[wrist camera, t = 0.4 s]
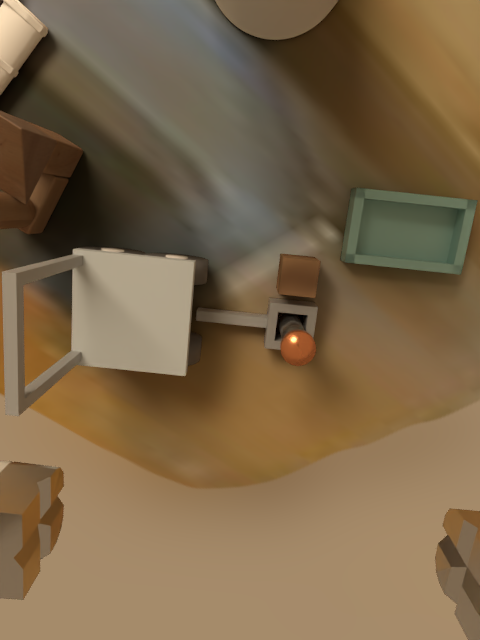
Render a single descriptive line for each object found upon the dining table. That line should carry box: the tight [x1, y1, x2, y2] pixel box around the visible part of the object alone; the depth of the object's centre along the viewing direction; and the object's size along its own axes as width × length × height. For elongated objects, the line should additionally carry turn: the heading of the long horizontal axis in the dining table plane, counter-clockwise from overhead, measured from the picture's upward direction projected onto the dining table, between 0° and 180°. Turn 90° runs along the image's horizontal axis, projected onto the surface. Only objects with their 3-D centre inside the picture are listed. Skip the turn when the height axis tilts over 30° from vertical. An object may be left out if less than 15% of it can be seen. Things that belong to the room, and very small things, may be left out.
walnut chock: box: [276, 254, 321, 298], centre depth 50 cm, size 4×4×4 cm
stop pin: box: [278, 313, 316, 366], centre depth 49 cm, size 3×3×11 cm
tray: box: [340, 188, 477, 275], centre depth 50 cm, size 8×13×2 cm, turn 84°
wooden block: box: [0, 111, 83, 234], centre depth 42 cm, size 4×11×18 cm, turn 148°
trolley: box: [2, 247, 318, 416], centre depth 43 cm, size 12×27×21 cm, turn 84°
